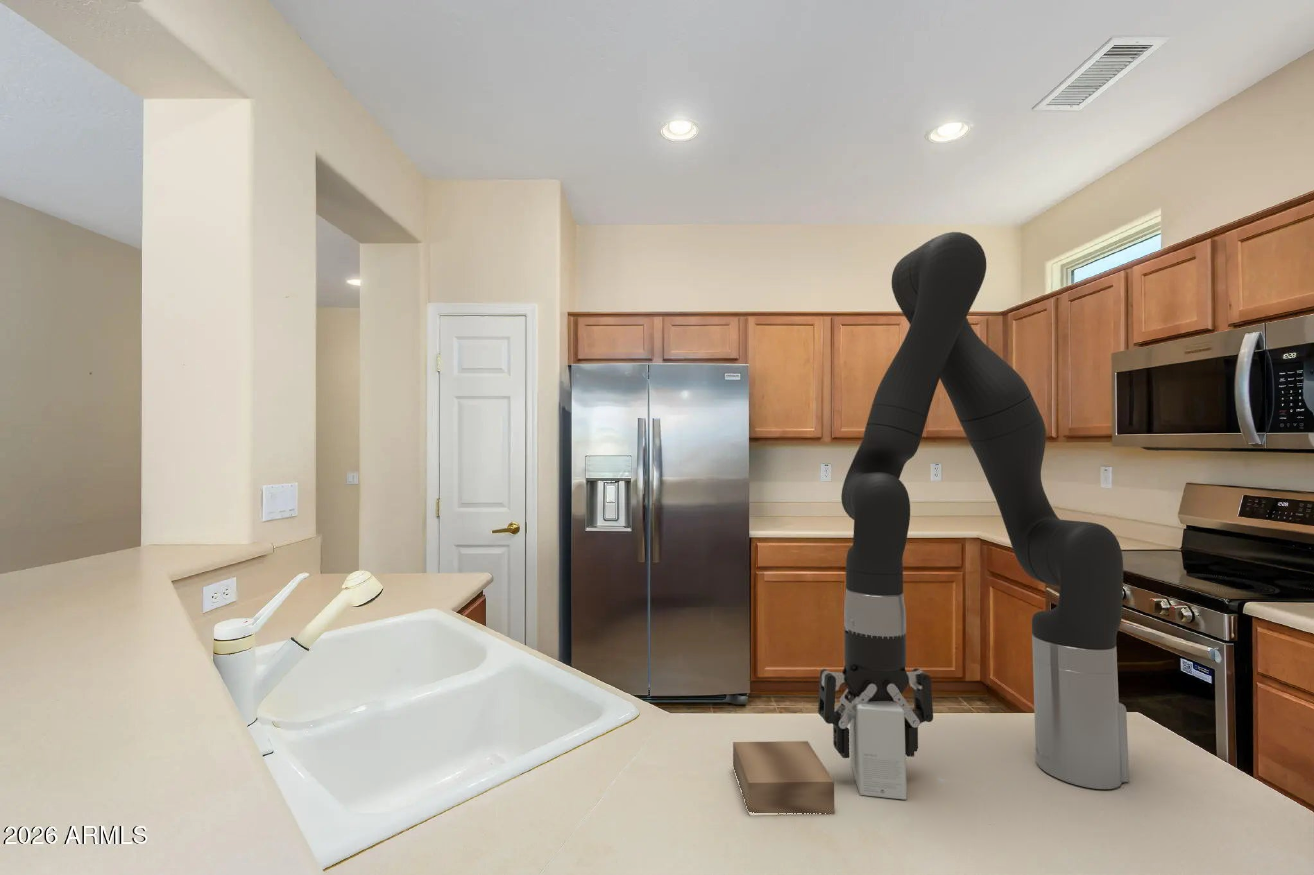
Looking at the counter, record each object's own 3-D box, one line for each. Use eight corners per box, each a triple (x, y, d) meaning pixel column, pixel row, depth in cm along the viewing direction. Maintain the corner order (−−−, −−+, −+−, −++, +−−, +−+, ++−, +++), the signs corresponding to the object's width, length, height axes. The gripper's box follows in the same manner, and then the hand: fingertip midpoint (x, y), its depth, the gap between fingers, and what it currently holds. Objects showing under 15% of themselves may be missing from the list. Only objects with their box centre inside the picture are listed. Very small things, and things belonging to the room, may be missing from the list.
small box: (907, 802, 69) (905, 712, 69) (858, 796, 70) (857, 707, 70) (893, 768, 76) (892, 688, 77) (849, 763, 78) (848, 684, 78)
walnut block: (807, 772, 76) (807, 741, 76) (834, 817, 66) (834, 781, 66) (733, 773, 75) (733, 742, 76) (748, 819, 65) (748, 782, 66)
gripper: (912, 618, 78) (913, 740, 77) (811, 618, 77) (811, 742, 76) (943, 633, 71) (945, 769, 70) (832, 634, 70) (832, 771, 69)
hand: (875, 754), depth 73 cm, fingers open, 8 cm apart
